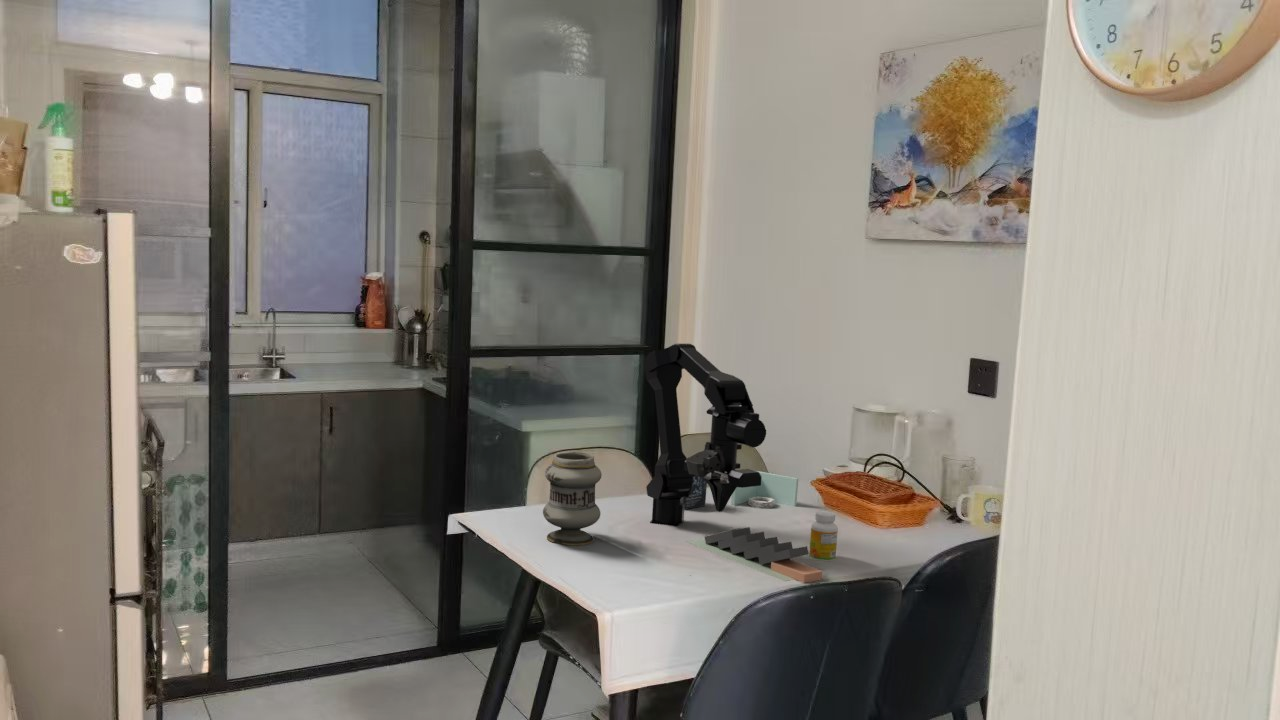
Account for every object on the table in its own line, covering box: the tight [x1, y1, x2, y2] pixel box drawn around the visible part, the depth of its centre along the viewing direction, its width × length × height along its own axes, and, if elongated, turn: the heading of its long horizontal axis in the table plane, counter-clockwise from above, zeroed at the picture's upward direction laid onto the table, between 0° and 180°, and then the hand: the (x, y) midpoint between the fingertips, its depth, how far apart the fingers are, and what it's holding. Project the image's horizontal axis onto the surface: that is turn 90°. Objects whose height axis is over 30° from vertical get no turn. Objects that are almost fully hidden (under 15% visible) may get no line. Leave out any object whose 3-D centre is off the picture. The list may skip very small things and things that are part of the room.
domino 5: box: [758, 545, 809, 565], centre depth 207 cm, size 2×5×9 cm
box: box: [682, 475, 708, 511], centre depth 257 cm, size 8×6×11 cm
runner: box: [685, 538, 796, 582], centre depth 214 cm, size 30×10×1 cm, turn 36°
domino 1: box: [704, 526, 752, 544], centre depth 220 cm, size 2×5×9 cm
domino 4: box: [744, 541, 794, 560], centre depth 210 cm, size 2×5×9 cm
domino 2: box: [718, 531, 766, 549], centre depth 217 cm, size 2×5×9 cm
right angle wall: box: [730, 470, 799, 509], centre depth 263 cm, size 12×12×8 cm
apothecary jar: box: [542, 451, 602, 546], centre depth 221 cm, size 12×12×18 cm
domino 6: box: [771, 558, 824, 584], centre depth 204 cm, size 2×5×9 cm
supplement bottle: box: [808, 510, 838, 562], centre depth 217 cm, size 5×5×10 cm
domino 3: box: [730, 536, 779, 554], centre depth 213 cm, size 2×5×9 cm
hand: (719, 511), depth 222 cm, fingers closed
